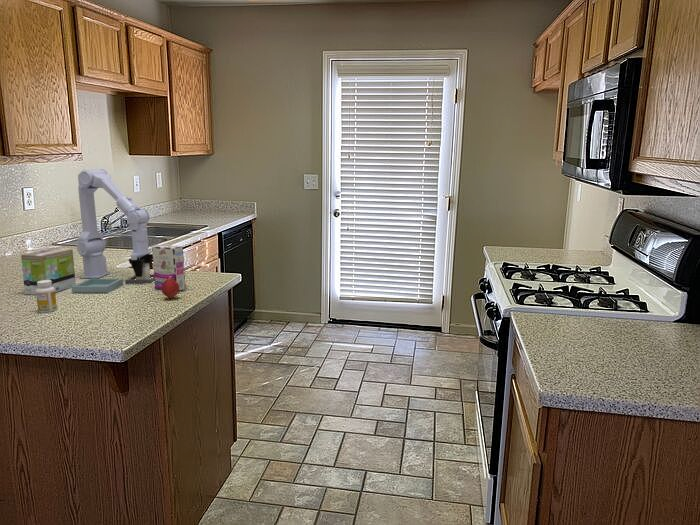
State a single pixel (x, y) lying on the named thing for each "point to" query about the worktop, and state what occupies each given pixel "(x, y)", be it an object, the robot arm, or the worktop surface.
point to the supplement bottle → (46, 296)
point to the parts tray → (97, 286)
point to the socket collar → (132, 280)
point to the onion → (170, 288)
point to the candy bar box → (168, 265)
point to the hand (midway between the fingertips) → (143, 274)
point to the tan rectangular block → (145, 272)
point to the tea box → (48, 269)
